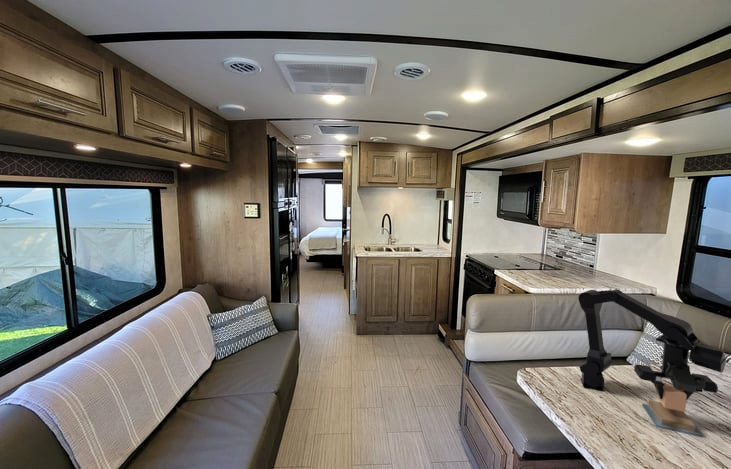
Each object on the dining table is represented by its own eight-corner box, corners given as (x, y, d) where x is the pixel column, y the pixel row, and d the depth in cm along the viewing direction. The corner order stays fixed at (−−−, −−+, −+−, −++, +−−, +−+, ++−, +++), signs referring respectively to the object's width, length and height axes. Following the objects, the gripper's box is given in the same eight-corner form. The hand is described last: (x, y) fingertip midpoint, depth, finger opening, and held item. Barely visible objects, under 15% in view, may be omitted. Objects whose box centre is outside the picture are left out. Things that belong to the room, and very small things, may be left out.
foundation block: (656, 426, 97) (656, 418, 97) (642, 405, 107) (642, 398, 106) (702, 437, 92) (703, 428, 92) (683, 414, 102) (684, 406, 102)
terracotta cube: (664, 407, 98) (666, 391, 97) (657, 398, 102) (659, 382, 102) (685, 411, 96) (686, 395, 95) (677, 402, 100) (678, 386, 99)
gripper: (648, 364, 94) (645, 408, 96) (732, 377, 86) (726, 425, 87) (635, 348, 104) (632, 388, 106) (708, 358, 96) (704, 402, 97)
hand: (671, 400), depth 99 cm, fingers closed on terracotta cube, 5 cm apart
